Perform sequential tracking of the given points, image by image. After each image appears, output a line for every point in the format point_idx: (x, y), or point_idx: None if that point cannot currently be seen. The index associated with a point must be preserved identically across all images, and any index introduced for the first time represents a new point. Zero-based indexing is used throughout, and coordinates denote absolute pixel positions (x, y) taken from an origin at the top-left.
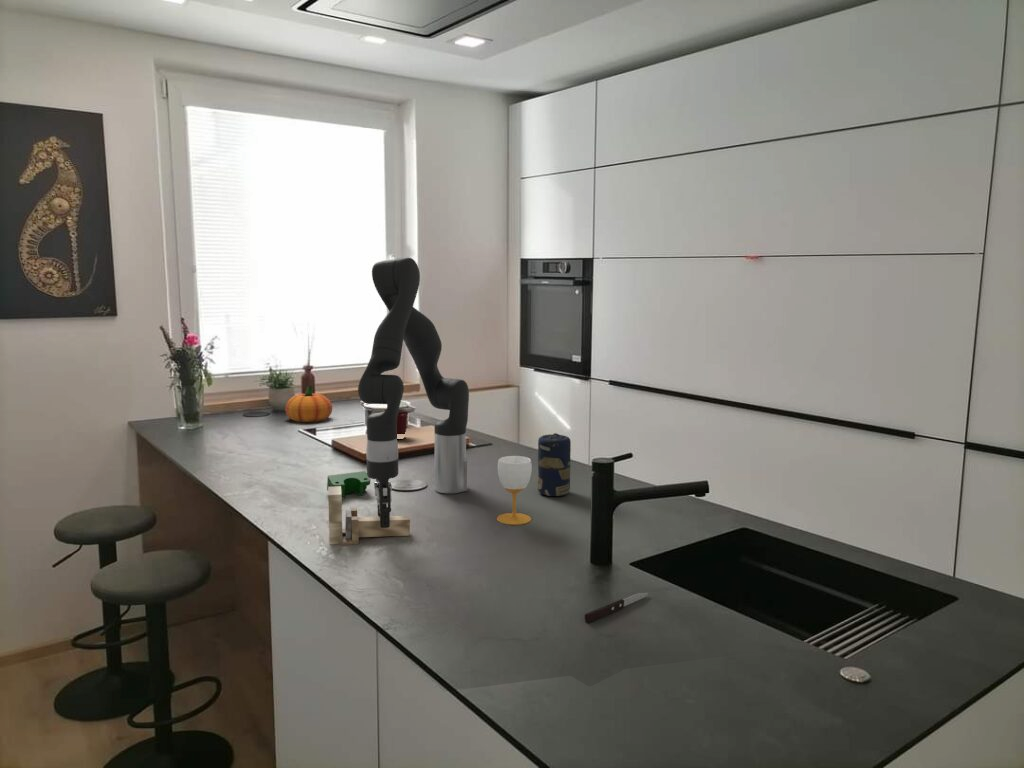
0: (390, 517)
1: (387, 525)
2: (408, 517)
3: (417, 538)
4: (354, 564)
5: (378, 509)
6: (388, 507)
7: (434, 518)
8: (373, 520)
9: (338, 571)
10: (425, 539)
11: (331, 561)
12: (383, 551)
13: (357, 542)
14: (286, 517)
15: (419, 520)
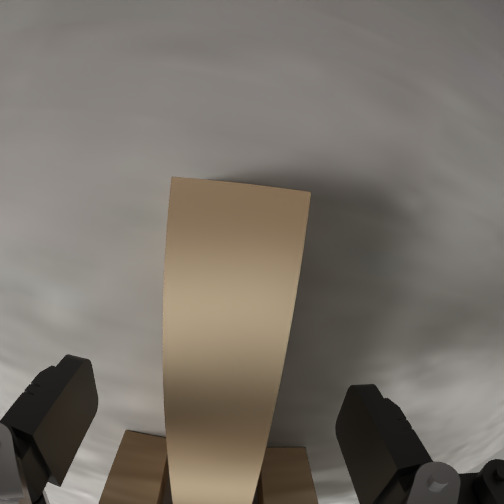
0: (198, 369)
1: (390, 405)
2: (235, 192)
3: (349, 154)
4: (462, 434)
5: (80, 440)
6: (493, 501)
7: (43, 14)
8: (252, 472)
9: (468, 455)
10: (380, 114)
11: None
12: (435, 363)
13: (304, 455)
14: None
15: (32, 88)
